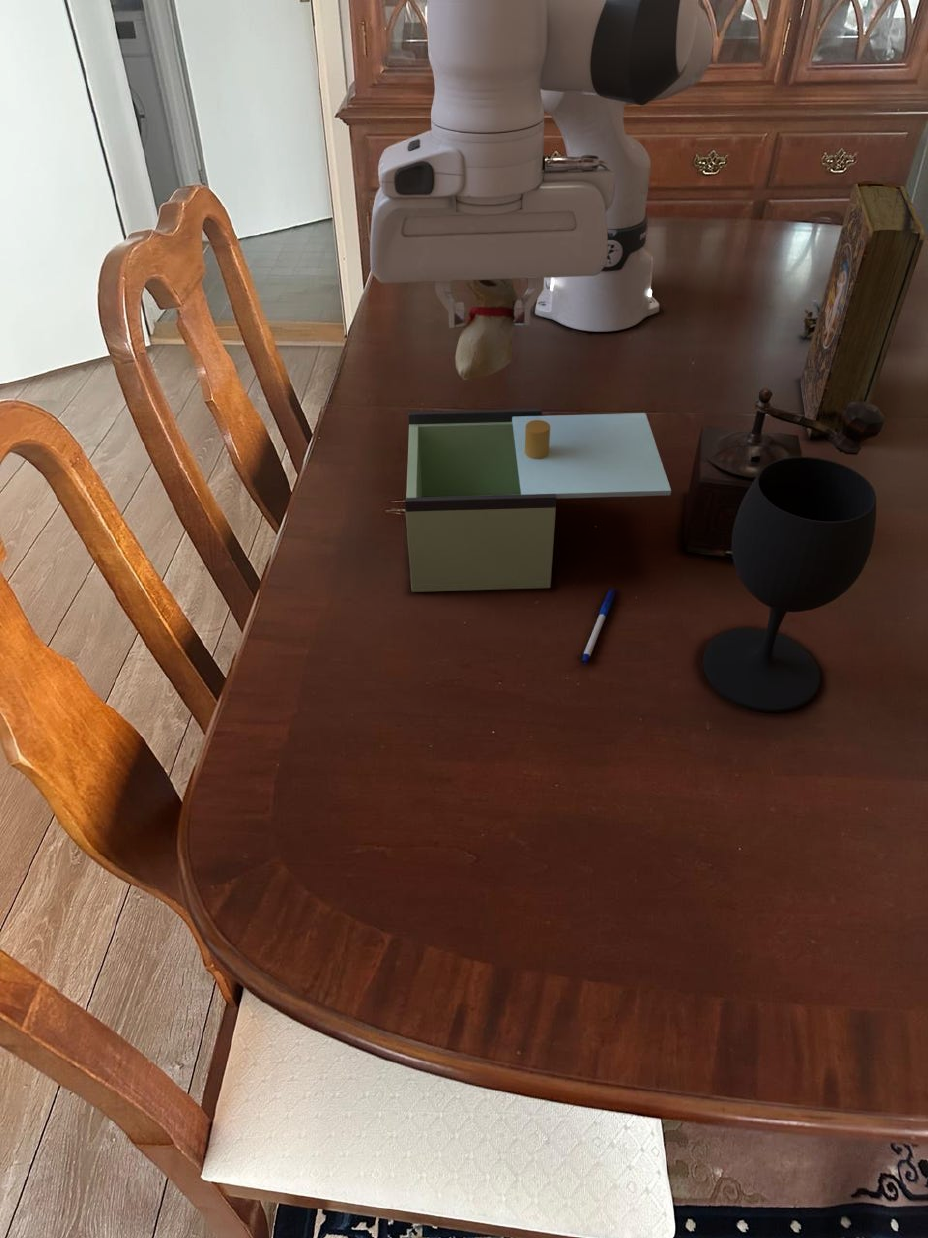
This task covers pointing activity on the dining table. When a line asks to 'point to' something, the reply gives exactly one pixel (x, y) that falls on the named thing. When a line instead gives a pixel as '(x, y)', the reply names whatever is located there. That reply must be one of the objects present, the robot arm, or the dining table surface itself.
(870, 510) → the wine glass
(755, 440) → the vintage coffee grinder
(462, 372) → the chocolate bunny
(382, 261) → the robot arm
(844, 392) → the book
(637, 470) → the light blue sliding lid
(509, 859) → the dining table surface
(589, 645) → the ballpoint pen
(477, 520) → the case
